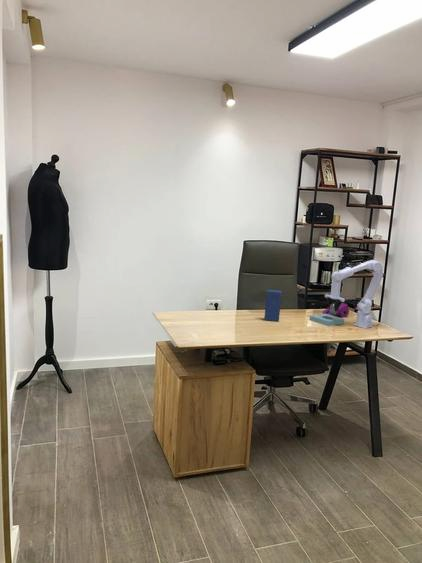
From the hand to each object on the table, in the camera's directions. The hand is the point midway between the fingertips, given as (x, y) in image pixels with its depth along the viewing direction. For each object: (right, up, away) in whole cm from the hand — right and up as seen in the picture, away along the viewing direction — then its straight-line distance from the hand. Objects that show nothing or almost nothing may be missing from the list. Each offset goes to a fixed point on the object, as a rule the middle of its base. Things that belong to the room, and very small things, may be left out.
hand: (333, 310), depth 305 cm
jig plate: (-3, -8, +7) cm, 11 cm away
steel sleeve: (0, -3, 0) cm, 3 cm away
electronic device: (-41, -7, 0) cm, 41 cm away
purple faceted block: (+7, -6, +24) cm, 26 cm away
